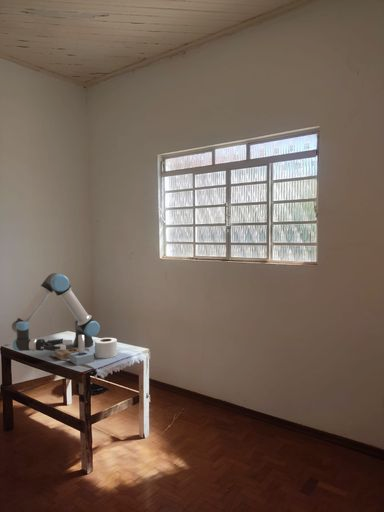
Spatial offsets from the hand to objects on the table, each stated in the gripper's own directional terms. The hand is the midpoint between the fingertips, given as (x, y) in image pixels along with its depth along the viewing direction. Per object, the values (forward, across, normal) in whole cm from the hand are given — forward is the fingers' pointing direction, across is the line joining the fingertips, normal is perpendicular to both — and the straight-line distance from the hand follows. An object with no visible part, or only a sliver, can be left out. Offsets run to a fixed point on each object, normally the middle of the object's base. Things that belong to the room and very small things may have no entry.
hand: (68, 344), depth 249 cm
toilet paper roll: (+22, -14, -12) cm, 28 cm away
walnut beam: (-2, -12, -12) cm, 17 cm away
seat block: (+8, 0, -12) cm, 14 cm away
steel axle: (+8, 0, -12) cm, 14 cm away
